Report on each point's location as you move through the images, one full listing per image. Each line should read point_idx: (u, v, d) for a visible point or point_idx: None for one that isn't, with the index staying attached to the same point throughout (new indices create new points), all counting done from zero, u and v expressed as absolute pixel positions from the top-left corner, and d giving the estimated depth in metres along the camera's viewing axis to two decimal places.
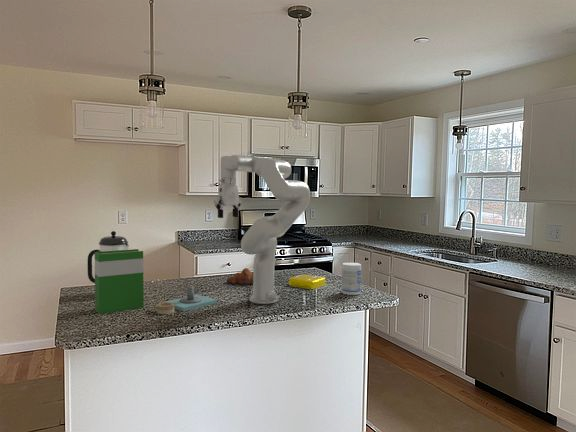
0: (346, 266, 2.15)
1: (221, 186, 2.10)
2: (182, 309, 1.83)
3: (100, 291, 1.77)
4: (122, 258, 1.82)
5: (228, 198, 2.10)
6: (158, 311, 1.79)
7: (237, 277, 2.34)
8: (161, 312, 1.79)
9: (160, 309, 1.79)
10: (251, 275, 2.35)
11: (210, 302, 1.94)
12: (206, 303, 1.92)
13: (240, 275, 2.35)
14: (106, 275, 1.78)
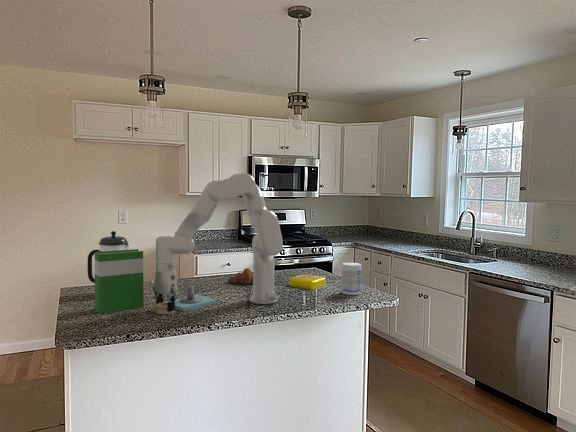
0: (346, 266, 2.15)
1: (172, 273, 1.78)
2: (182, 309, 1.83)
3: (100, 291, 1.77)
4: (122, 258, 1.82)
5: None
6: (158, 311, 1.79)
7: (238, 277, 2.35)
8: (161, 312, 1.79)
9: (160, 309, 1.79)
10: (252, 275, 2.36)
11: (210, 302, 1.94)
12: (206, 303, 1.92)
13: (241, 275, 2.35)
14: (106, 275, 1.78)
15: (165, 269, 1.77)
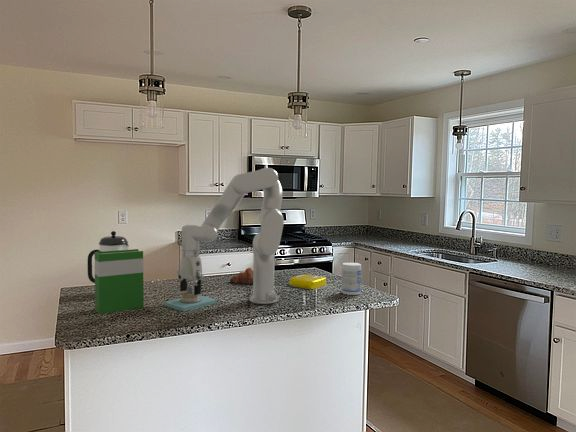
0: (346, 266, 2.15)
1: (197, 259, 1.90)
2: (182, 309, 1.83)
3: (100, 291, 1.77)
4: (122, 258, 1.82)
5: None
6: (184, 299, 1.91)
7: (240, 277, 2.36)
8: (187, 300, 1.90)
9: (186, 297, 1.90)
10: None
11: (210, 302, 1.94)
12: (206, 303, 1.92)
13: (243, 275, 2.36)
14: (106, 275, 1.78)
15: (191, 255, 1.89)
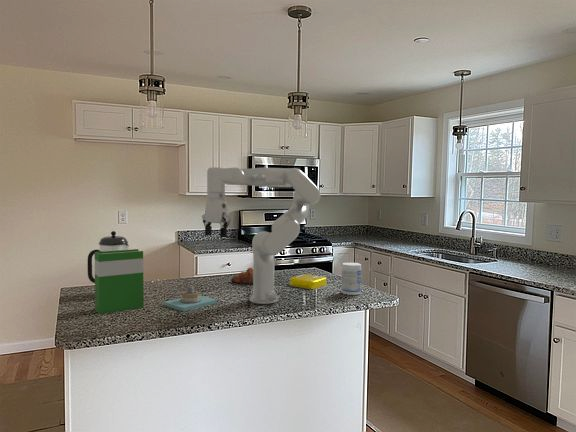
0: (346, 266, 2.15)
1: (223, 202, 1.87)
2: (182, 309, 1.83)
3: (100, 291, 1.77)
4: (122, 258, 1.82)
5: None
6: (184, 299, 1.91)
7: (241, 276, 2.36)
8: (187, 300, 1.90)
9: (186, 297, 1.90)
10: None
11: (210, 302, 1.94)
12: (206, 303, 1.92)
13: (244, 274, 2.36)
14: (106, 275, 1.78)
15: (217, 197, 1.86)
